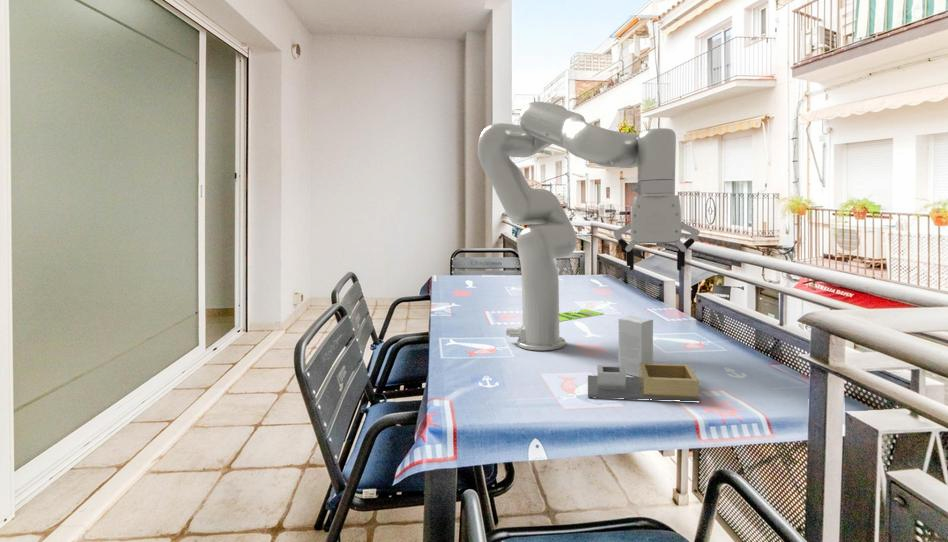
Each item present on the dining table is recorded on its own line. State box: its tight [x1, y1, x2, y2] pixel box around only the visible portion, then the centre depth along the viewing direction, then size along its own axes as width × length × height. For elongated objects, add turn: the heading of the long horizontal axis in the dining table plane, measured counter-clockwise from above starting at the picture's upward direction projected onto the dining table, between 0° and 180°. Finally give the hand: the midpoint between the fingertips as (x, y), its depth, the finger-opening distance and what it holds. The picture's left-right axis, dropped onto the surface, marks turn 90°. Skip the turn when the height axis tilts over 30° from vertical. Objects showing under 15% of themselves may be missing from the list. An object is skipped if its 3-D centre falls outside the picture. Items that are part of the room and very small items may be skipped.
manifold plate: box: [587, 363, 701, 402], centre depth 103 cm, size 20×11×4 cm, turn 78°
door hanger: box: [559, 308, 604, 323], centre depth 171 cm, size 9×1×25 cm
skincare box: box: [618, 315, 654, 377], centre depth 113 cm, size 6×4×12 cm
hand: (655, 269), depth 113 cm, fingers open, 9 cm apart
